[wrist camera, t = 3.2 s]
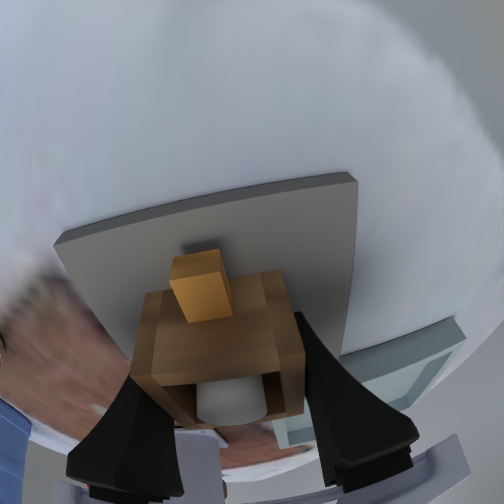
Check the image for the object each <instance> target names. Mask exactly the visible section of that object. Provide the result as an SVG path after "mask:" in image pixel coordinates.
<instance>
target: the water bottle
mask: <svg viewBox="0 0 504 504" xmlns="http://www.w3.org/2000/svg"><path fill="white" fill-rule="evenodd" d="M3 356H4V344H3V342H2V339H1V337H0V366H1V362H2V360H3Z"/></svg>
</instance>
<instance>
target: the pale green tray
mask: <svg viewBox="0 0 504 504" xmlns="http://www.w3.org/2000/svg"><path fill="white" fill-rule="evenodd" d="M466 339H467V338H466V337H465V335H464V334H463V332H462V330H461V329H460V327H459V326H458V325H457V323H456V322H455V320H454V319H453V317H450V318H448V319H445V320H443V321H441V322H438V323H436V324H434V325H431V326H429V327H426V328H424V329H421V330H419V331H416V332H414V333H411V334H408V335H406V336H403V337H400V338H397V339H395V340H392V341H389V342H386V343H383V344H380V345H377V346H374V347H371V348H368V349H364V350H361V351H358V352H355V353H351V354H348V355H344V356H341V357H339V363H340V364H341V365H342V366H343V367H344V368H345V369H346V370H347V371H348V372H349V373H350V374H351V375H352V376H353V377H354V378H355V379H356V380H358V381H359V382H360V383H361V384H362V385H363V386H364V387H366V388H367V389H368V390H369V391H371V392H372V393H373V394H374V395H376V396H377V397H378V398H380V399H381V400H382V401H384V402H385V403H387V404H388V405H390V406H391V407H393V408H394V409H396V410H397V411H399V412H401V413H402V412H405V411H407V410H409V409H411V408H414V407H415V406H416V405H417V404H418V402H419V401H420V400H421V399H422V397H424V395H425V394H426V393H427V392H428V391H429V389H430V388H431V387H432V386H433V385H434V383H435V382H436V381H437V380H438V378H439V377H440V376H441V374H442V373H443V372H444V370H445V369H446V368H447V366H448V365H449V364H450V362H451V361H452V359H453V358H454V357H455V355H456V354H457V352H458V351H459V349H460V348H461V346H462V345H463V343H464V342H465V340H466ZM271 422H272V425H273V428H274V432H275V435H276V438H277V441H278V444H279V447H280V449H285V448H290V447H295V446H299V445H304V444H308V443H313V442H316V437H315V433H314V428H313V424H312V419H311V415H310V410H309V407H308V403H307V400H306V397H305V396H304V414H301V415H297V416H292V417H287V418H282V419H277V420H271Z"/></svg>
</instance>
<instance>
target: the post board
mask: <svg viewBox="0 0 504 504" xmlns="http://www.w3.org/2000/svg"><path fill="white" fill-rule="evenodd" d="M357 202H358V181H357V180H356V179H355V178H353V177H352V176H351V175H350V174H348V173H347V172H344V173H336V174H328V175H320V176H313V177H306V178H299V179H293V180H286V181H280V182H274V183H268V184H262V185H256V186H251V187H245V188H240V189H235V190H230V191H224V192H219V193H215V194H210V195H205V196H200V197H196V198H191V199H187V200H182V201H178V202H173V203H169V204H165V205H161V206H157V207H153V208H149V209H145V210H141V211H137V212H133V213H129V214H125V215H122V216H118V217H114V218H111V219H107V220H104V221H100V222H97V223H93V224H90V225H87V226H83V227H80V228H77V229H73V230H70V231H67V232H64V233H62V234H61V236H60V237H59V238H58V240H57V241H56V242H55V244H54V245H53V247H54V249H55V250H56V252H57V254H58V256H59V258H60V260H61V261H62V263H63V265H64V267H65V268H66V270H67V272H68V274H69V275H70V277H71V279H72V280H73V282H74V283H75V285H76V287H77V288H78V290H79V291H80V293H81V295H82V296H83V298H84V299H85V301H86V302H87V304H88V305H89V307H90V308H91V310H92V311H93V313H94V314H95V315H96V317H97V318H98V320H99V321H100V322H101V324H102V325H103V327H104V328H105V329H106V331H107V332H108V333H109V335H110V336H111V337H112V339H113V340H114V341H115V343H116V344H117V345H118V346H119V348H120V349H121V350H122V351H123V353H124V354H125V355H126V356H127V358H128V359H129V360H130V361H131V362H132V358H133V352H134V347H135V341H136V336H137V331H138V326H139V322H140V317H141V312H142V308H143V303H144V299H145V295H146V293H150V292H155V291H161V290H167V289H172V287H171V285H170V282H169V277H170V272H171V266H172V261H173V258H174V257H179V256H184V255H189V254H194V253H199V252H204V251H209V250H214V249H219V250H220V254H221V257H222V261H223V265H224V269H225V272H226V276H227V279H229V278H234V277H239V276H245V275H250V274H255V273H260V272H266V271H271V270H276V269H280V272H281V275H282V278H283V281H284V284H285V287H286V291H287V294H288V297H289V300H290V304H291V307H292V310H293V312H298V311H301V312H302V313H303V314H304V316H305V318H306V320H307V321H308V323H309V325H310V326H311V328H312V329H313V330H314V332H315V333H316V335H317V336H318V337H319V339H320V340H321V341H322V343H323V344H324V345H325V346H326V348H327V349H328V350H329V351H330V353H331V354H332V355H333V356H334V357H335V358H336V359H337V360H338V362H339V357H340V352H341V346H342V341H343V335H344V329H345V323H346V317H347V310H348V303H349V296H350V288H351V279H352V270H353V260H354V250H355V237H356V222H357ZM196 386H197V417H198V418H199V419H200V420H202V421H204V422H206V423H209V424H214V425H222V426H233V425H242V424H247V423H251V422H254V421H257V420H259V419H261V418H263V417H264V416H265V415H266V414H267V405H266V399H265V394H264V388H263V382H262V376H261V374H260V375H254V376H248V377H242V378H235V379H228V380H221V381H213V382H204V383H196Z"/></svg>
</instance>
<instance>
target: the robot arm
mask: <svg viewBox="0 0 504 504" xmlns="http://www.w3.org/2000/svg"><path fill="white" fill-rule="evenodd" d="M293 313H294V317H295V320H296V323H297V326H298V330H299V333H300V336H301V340H302V343H303V346H304V350H305V397H306V400H307V403H308V407H309V410H310V415H311V419H312V424H313V428H314V433H315V437H316V442H317V447H318V452H319V457H320V462H321V467H322V472H323V479H324V483H325V487H329V486H332V485H337V487H334V488H330V489H327V490H323V491H319V492H315V493H310V494H305V495H300V496H295V497H290V498H284V499H278V500H271V501H264V502H255V503H244V504H322V503H326V502H329V501H333V500H337V499H339V500H338V501H337V503H336V504H428V503H430V502H431V501H433V500H435V499H436V498H438V497H439V496H441V495H442V494H444V493H446V492H447V491H449V490H450V489H452V488H453V487H455V486H456V485H458V484H459V483H461V482H462V481H464V480H465V479H466V478H468V477H469V476H470V475H471V471H470V468H469V465H468V463H467V460H466V457H465V455H464V452H463V449H462V447H461V444H460V441H459V439H458V437H457V434H453V435H452V436H450V437H448V438H447V439H445V440H443V441H442V442H440V443H438V444H437V445H435V446H433V447H431V448H429V449H428V450H426V451H425V452H423V453H421V454H420V455H417V456H415V457H413V458H411V457H410V454H409V453H411V449H410V446H409V445H410V444H412V443H413V442H415V441H416V440H417V439H419V436H420V435H419V433H418V430H417V428H416V426H415V425H414V423H413V422H412V420H411V419H410V418H409V417H408V416H406V415H404V414H402V413H401V412H399V411H397V410H396V409H394V408H393V407H391V406H390V405H388V404H387V403H385V402H384V401H382V400H381V399H380V398H378V397H377V396H376V395H374V394H373V393H372V392H371V391H369V390H368V389H367V388H366V387H364V386H363V385H362V384H361V383H360V382H359V381H358V380H356V379H355V378H354V377H353V376H352V375H351V374H350V373H349V372H348V371H347V370H346V369H345V368H344V367H343V366H342V365H341V364H340V363H339V362H338V360H337V359H336V358H335V357H334V356H333V355H332V354H331V353H330V351H329V350H328V349H327V348H326V346H325V345H324V344H323V343H322V341H321V340H320V339H319V337H318V336H317V335H316V333H315V332H314V330H313V329H312V328H311V326H310V325H309V323H308V321H307V320H306V318H305V316H304V314H303V313H302V312H301V311H298V312H293ZM226 447H228V443H227V442H226V441H225V440H224V439H223V438H222V437H221V436H220V435H219V434H218V433H217V432H216V431H215V430H214V429H213V428H208V429H192V430H186V429H185V428H174V419H173V418H172V417H171V416H170V415H169V414H168V413H167V412H166V411H164V410H163V409H162V408H161V407H160V406H159V405H158V404H157V403H156V402H155V401H154V400H153V399H152V398H151V397H150V396H149V395H148V394H147V393H146V392H145V391H144V390H143V389H142V388H141V387H140V386H139V385H138V384H137V383H136V382H135V381H134V380H133V379H132V378H131V377H130V373H129V375H128V377H127V379H126V380H125V382H124V384H123V386H122V388H121V389H120V391H119V393H118V395H117V396H116V398H115V399H114V401H113V403H112V404H111V406H110V407H109V409H108V410H107V411H106V413H105V414H104V416H103V417H102V418H101V420H100V421H99V422H98V423H97V425H96V426H95V427H94V428H93V429H92V430H91V432H90V433H89V434H88V435H87V436H86V437H85V438H84V439H83V440H82V441H81V442H80V443H79V444H78V445H77V446H76V447H75V448H74V449H73V450H72V451H70V452H69V453H68V459H67V468H66V476H67V477H69V478H71V479H74V480H76V481H79V482H82V483H85V484H88V485H89V490H88V489H84V488H81V487H79V486H76V485H73V484H70V483H67V482H64V481H61V480H58V479H54V491H53V504H225V501H224V491H223V482H222V472H221V461H220V450H219V448H226Z"/></svg>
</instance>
